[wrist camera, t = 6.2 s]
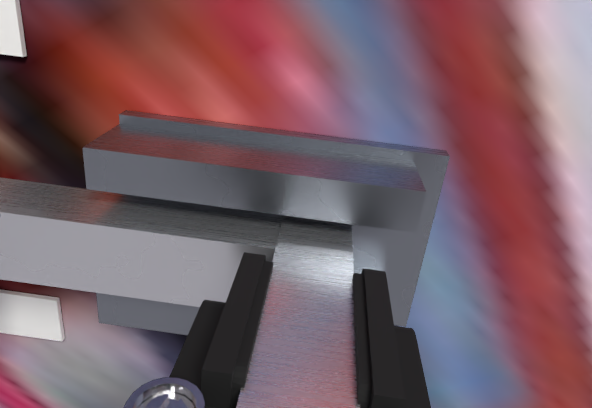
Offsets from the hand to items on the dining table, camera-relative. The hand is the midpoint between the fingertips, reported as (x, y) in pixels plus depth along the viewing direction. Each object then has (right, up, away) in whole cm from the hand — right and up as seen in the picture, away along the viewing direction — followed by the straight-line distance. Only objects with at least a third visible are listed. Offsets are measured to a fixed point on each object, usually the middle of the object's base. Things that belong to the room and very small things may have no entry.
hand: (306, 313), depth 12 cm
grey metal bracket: (-1, +2, +4) cm, 5 cm away
